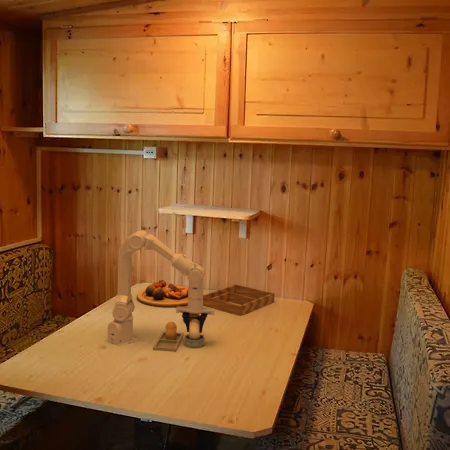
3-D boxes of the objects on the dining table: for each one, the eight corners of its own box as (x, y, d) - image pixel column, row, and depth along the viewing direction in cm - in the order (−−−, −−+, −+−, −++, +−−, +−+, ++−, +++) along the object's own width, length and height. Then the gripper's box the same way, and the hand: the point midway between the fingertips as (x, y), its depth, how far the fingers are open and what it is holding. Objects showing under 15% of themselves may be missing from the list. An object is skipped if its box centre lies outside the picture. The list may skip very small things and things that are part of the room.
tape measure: (186, 319, 231) (187, 311, 231) (201, 321, 230) (202, 312, 230) (182, 324, 225) (183, 316, 224) (198, 326, 223) (198, 317, 223)
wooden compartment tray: (240, 316, 238) (241, 306, 237) (200, 305, 252) (200, 296, 251) (274, 302, 261) (274, 293, 260) (235, 292, 275) (235, 284, 274)
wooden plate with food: (212, 296, 268) (213, 281, 267) (176, 312, 241) (176, 295, 239) (162, 286, 284) (163, 271, 283) (123, 300, 257) (123, 284, 255)
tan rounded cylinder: (195, 339, 198) (195, 322, 197) (186, 336, 200) (186, 319, 199) (202, 336, 201) (203, 319, 200) (193, 333, 204) (194, 316, 203)
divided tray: (175, 352, 194) (175, 348, 194) (152, 351, 195) (152, 347, 194) (183, 337, 210) (183, 333, 210) (162, 335, 211) (162, 331, 210)
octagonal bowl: (195, 351, 196) (195, 342, 196) (180, 346, 201) (180, 337, 200) (208, 345, 202) (208, 336, 202) (193, 340, 207) (193, 332, 206)
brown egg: (171, 341, 203) (171, 324, 202) (162, 339, 206) (163, 322, 205) (178, 338, 206) (179, 321, 205) (170, 336, 209) (170, 319, 208)
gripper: (215, 295, 202) (214, 329, 204) (178, 293, 203) (178, 326, 205) (213, 300, 195) (212, 335, 197) (175, 298, 196) (174, 333, 198)
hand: (194, 331), depth 200 cm, fingers closed on tan rounded cylinder, 4 cm apart
